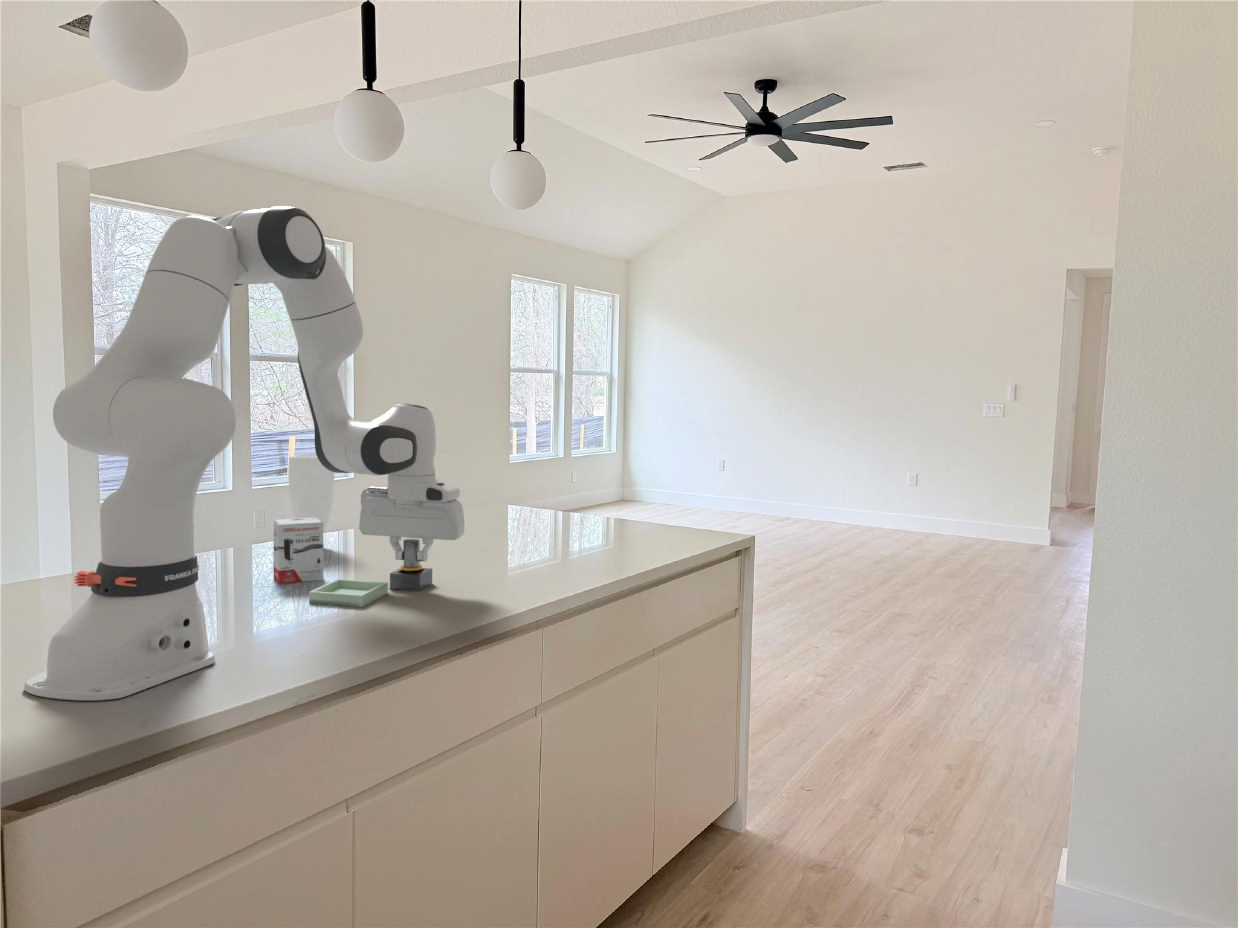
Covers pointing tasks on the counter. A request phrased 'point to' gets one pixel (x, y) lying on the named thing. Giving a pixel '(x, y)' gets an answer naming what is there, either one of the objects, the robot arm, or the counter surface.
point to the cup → (310, 487)
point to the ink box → (298, 550)
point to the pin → (411, 556)
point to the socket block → (411, 580)
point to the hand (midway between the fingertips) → (411, 560)
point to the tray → (348, 592)
